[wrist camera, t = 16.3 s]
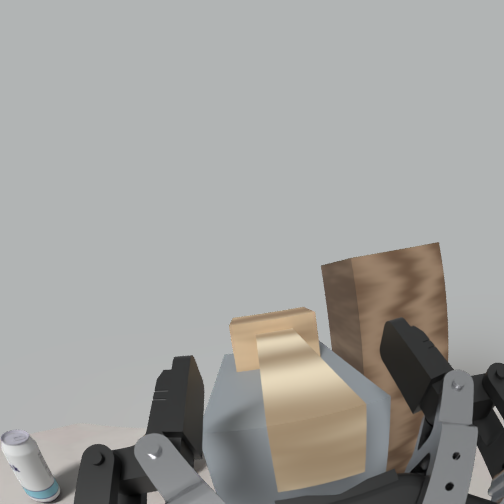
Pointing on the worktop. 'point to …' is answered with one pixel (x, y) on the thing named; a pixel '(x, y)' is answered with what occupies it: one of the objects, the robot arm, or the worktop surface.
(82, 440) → the worktop surface
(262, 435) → the short pedestal
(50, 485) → the beverage can
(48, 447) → the worktop surface
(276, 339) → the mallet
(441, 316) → the tall pedestal
